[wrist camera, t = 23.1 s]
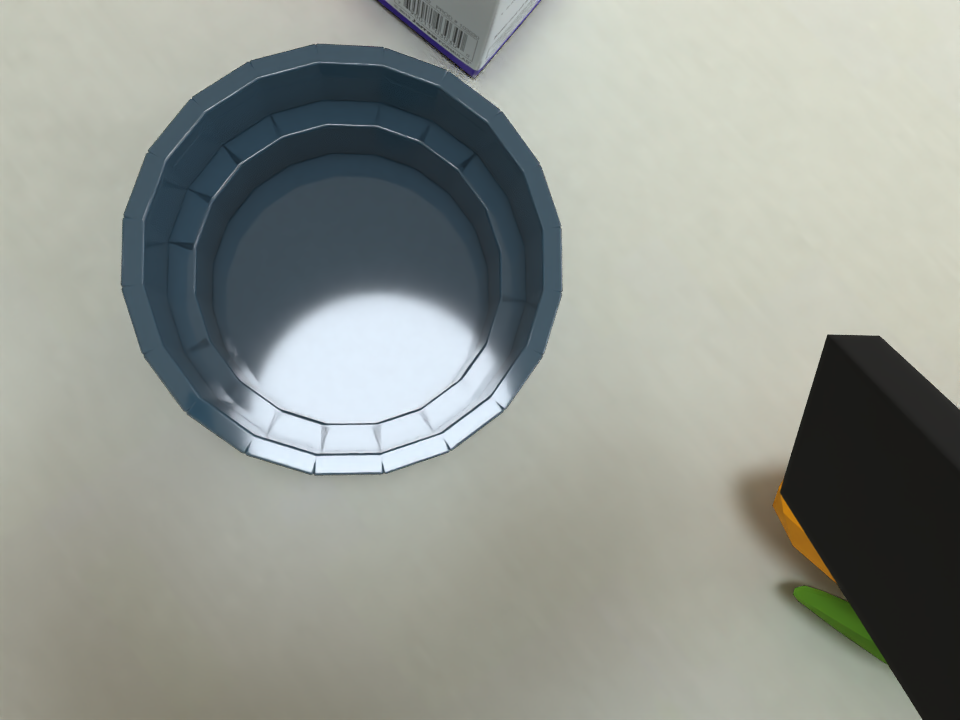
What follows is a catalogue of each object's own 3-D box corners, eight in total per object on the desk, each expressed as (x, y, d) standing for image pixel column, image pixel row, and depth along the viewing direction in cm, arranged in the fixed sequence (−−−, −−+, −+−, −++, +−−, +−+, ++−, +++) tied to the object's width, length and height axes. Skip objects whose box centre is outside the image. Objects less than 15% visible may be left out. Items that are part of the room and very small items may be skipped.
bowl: (121, 402, 28) (54, 396, 22) (241, 72, 29) (209, -18, 23) (466, 508, 29) (490, 530, 23) (565, 187, 30) (612, 129, 24)
